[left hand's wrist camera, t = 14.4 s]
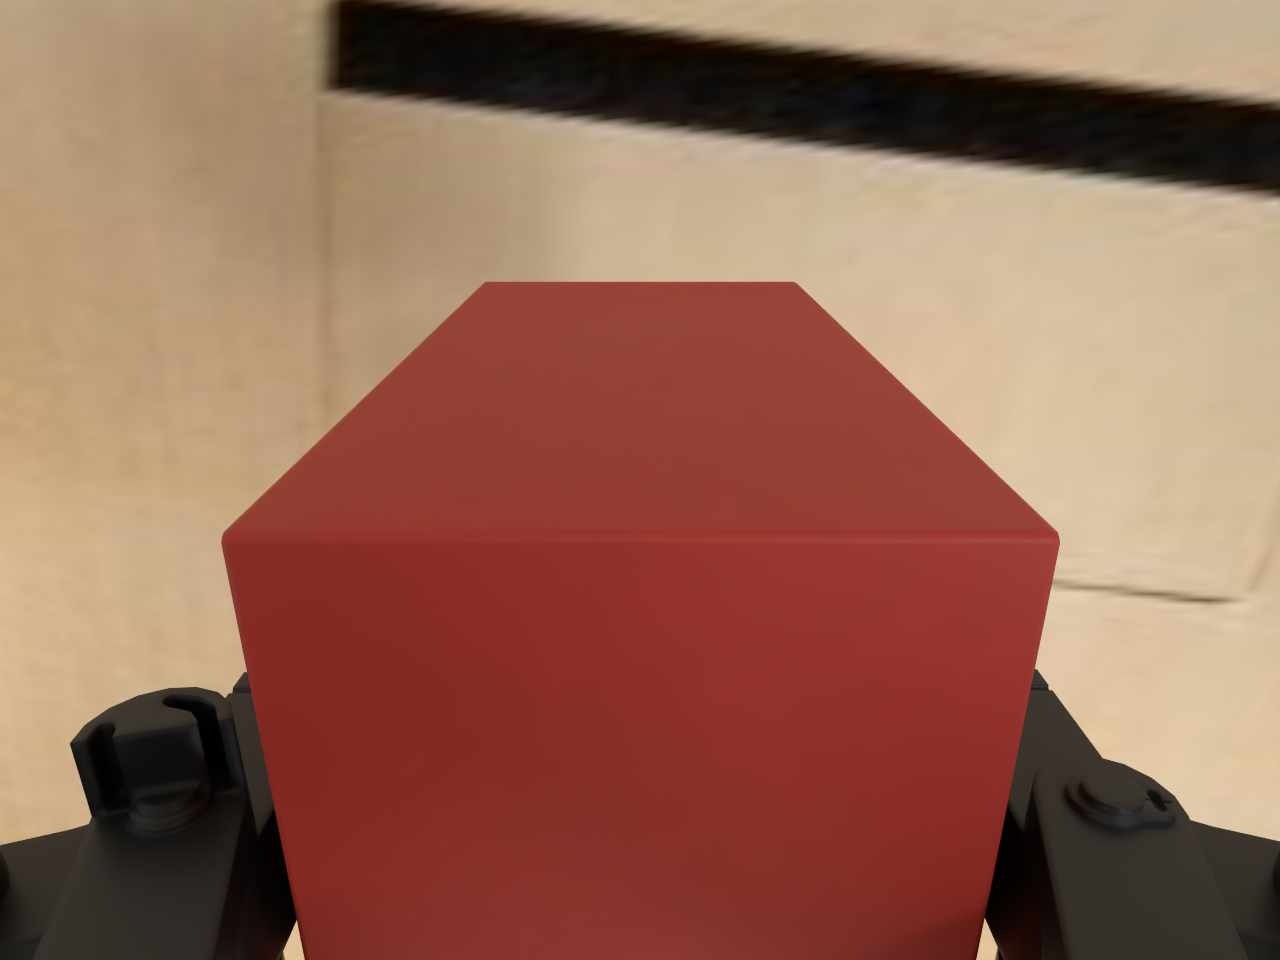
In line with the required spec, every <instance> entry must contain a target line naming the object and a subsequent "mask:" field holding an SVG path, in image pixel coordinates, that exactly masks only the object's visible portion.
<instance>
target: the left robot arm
mask: <svg viewBox="0 0 1280 960" xmlns="http://www.w3.org/2000/svg"><path fill="white" fill-rule="evenodd" d="M70 746H71V749H72V752H73V756H74V759H75V762H76V766H77V769H78V772H79V776H80V779H81V782H82V785H83V789H84V792H85V795H86V799H87V802H88V805H89V809H90V812H91V815H92V818H91V820H90V823H89V824H88V825H85V826H81V827H78V828H74V829H71V830H67V831H62V832H58V833H53V834H49V835H44V836H40V837H35V838H31V839H26V840H22V841H17V842H13V843H8V844H4V845H0V960H285V958H284V953H283V950H284V948H285V946H286V943H287V941H288V939H289V936H290V934H291V932H292V930H293V927H294V925H295V923H296V920H297V918H296V913H295V908H294V903H293V898H292V893H291V888H290V883H289V878H288V873H287V868H286V863H285V858H284V853H283V848H282V843H281V838H280V833H279V828H278V823H277V818H276V813H275V808H274V803H273V798H272V793H271V788H270V783H269V778H268V773H267V768H266V763H265V758H264V753H263V748H262V743H261V738H260V733H259V728H258V723H257V718H256V713H255V708H254V703H253V698H252V693H251V688H250V683H249V678H248V673H247V672H244V674H243V675H242V676H241V678H240V679H239V680H238V682H237V683H236V684H235V686H234V687H233V693H229V694H228V695H227V697H226V698H224V697H223V696H222V695H221V694H219V693H218V692H216V691H211V690H207V689H202V688H198V687H186V688H168V689H164V690H159V691H155V692H151V693H147V694H143V695H139V696H136V697H134V698H132V699H129V700H127V701H125V702H122V703H120V704H118V705H115V706H113V707H111V708H109V709H107V710H106V711H104V712H103V713H102V714H100V715H99V716H97V717H96V718H94V719H93V720H91V721H90V722H88V723H87V724H86V725H84V727H83V728H82V729H81V730H80V732H79V733H78V734H77V735H76V737H75V738H74V739H73V740H72V741H71V743H70ZM985 919H986V921H987V924H988V926H989V928H990V931H991V933H992V935H993V937H994V940H995V942H996V944H997V946H998V948H997V953H996V958H995V960H1280V841H1275V840H1271V839H1266V838H1262V837H1257V836H1253V835H1248V834H1244V833H1239V832H1235V831H1230V830H1226V829H1221V828H1217V827H1212V826H1209V825H1205V824H1202V823H1198V822H1195V821H1191V820H1190V819H1189V816H1188V815H1187V813H1186V812H1185V810H1184V809H1183V808H1182V806H1181V805H1180V803H1179V802H1178V800H1177V799H1176V798H1175V796H1174V795H1173V794H1171V793H1170V792H1169V791H1168V790H1166V789H1165V788H1164V787H1162V786H1161V785H1160V784H1159V783H1157V782H1156V781H1155V780H1154V779H1152V778H1151V777H1149V776H1147V775H1145V774H1143V773H1141V772H1139V771H1137V770H1135V769H1132V768H1130V767H1128V766H1126V765H1124V764H1121V763H1117V762H1114V761H1110V760H1106V759H1103V758H1102V757H1101V755H1100V754H1099V753H1098V751H1097V750H1096V749H1095V747H1094V746H1093V745H1092V743H1091V742H1090V741H1089V739H1088V738H1087V737H1086V735H1085V734H1084V733H1083V731H1082V730H1081V728H1080V727H1079V726H1078V724H1077V723H1076V722H1075V720H1074V719H1073V718H1072V716H1071V715H1070V714H1069V712H1068V711H1067V710H1066V708H1065V707H1064V705H1063V704H1062V703H1061V701H1060V700H1059V699H1058V697H1057V696H1056V695H1055V693H1054V692H1053V691H1052V690H1049V689H1048V684H1047V683H1046V681H1045V680H1044V678H1043V677H1042V676H1041V674H1040V673H1039V672H1038V670H1037V669H1034V674H1033V679H1032V684H1031V689H1030V694H1029V699H1028V704H1027V709H1026V714H1025V719H1024V724H1023V729H1022V734H1021V739H1020V744H1019V749H1018V754H1017V759H1016V764H1015V769H1014V774H1013V779H1012V784H1011V789H1010V794H1009V799H1008V804H1007V809H1006V814H1005V819H1004V824H1003V829H1002V834H1001V839H1000V844H999V849H998V853H997V858H996V863H995V868H994V873H993V878H992V883H991V888H990V893H989V898H988V903H987V908H986V913H985Z"/></svg>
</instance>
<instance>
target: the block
mask: <svg viewBox="0 0 1280 960" xmlns="http://www.w3.org/2000/svg"><path fill="white" fill-rule="evenodd" d="M1059 545H1060V540H1059V535H1058V532H1057V531H1056V530H1055V529H1054V528H1053V527H1051V526H1050V525H1049V524H1048V523H1047V522H1046V521H1045V520H1044V519H1043V518H1042V517H1041V516H1040V515H1039V514H1038V513H1037V512H1036V511H1035V510H1034V509H1033V508H1032V507H1031V506H1029V505H1028V504H1027V503H1026V502H1025V501H1024V500H1023V499H1022V498H1021V497H1020V496H1019V495H1018V494H1017V493H1016V492H1015V491H1014V490H1013V489H1012V488H1011V487H1010V486H1009V485H1007V484H1006V483H1005V482H1004V481H1003V480H1002V479H1001V478H1000V477H999V476H998V475H997V474H996V473H995V472H994V471H993V470H992V469H991V468H990V467H989V466H988V465H986V464H985V463H984V462H983V461H982V460H981V459H980V458H979V457H978V456H977V455H976V454H975V453H974V452H973V451H972V450H971V449H970V448H969V447H968V446H967V445H966V444H964V443H963V442H962V441H961V440H960V439H959V438H958V437H957V436H956V435H955V434H954V433H953V432H952V431H951V430H950V429H949V428H948V427H947V426H946V425H945V424H944V423H942V422H941V421H940V420H939V419H938V418H937V417H936V416H935V415H934V414H933V413H932V412H931V411H930V410H929V409H928V408H927V407H926V406H925V405H924V404H923V403H922V402H920V401H919V400H918V399H917V398H916V397H915V396H914V395H913V394H912V393H911V392H910V391H909V390H908V389H907V388H906V387H905V386H904V385H903V384H902V383H901V382H899V381H898V380H897V379H896V378H895V377H894V376H893V375H892V374H891V373H890V372H889V371H888V370H887V369H886V368H885V367H884V366H883V365H882V364H881V363H880V362H879V361H877V360H876V359H875V358H874V357H873V356H872V355H871V354H870V353H869V352H868V351H867V350H866V349H865V348H864V347H863V346H862V345H861V344H860V343H859V342H858V341H857V340H855V339H854V338H853V337H852V336H851V335H850V334H849V333H848V332H847V331H846V330H845V329H844V328H843V327H842V326H841V325H840V324H839V323H838V322H837V321H836V320H834V319H833V318H832V317H831V316H830V315H829V314H828V313H827V312H826V311H825V310H824V309H823V308H822V307H821V306H820V305H819V304H818V303H817V302H816V301H815V300H814V299H812V298H811V297H810V296H809V295H808V294H807V293H806V292H805V291H804V290H803V289H802V288H801V287H800V286H799V285H798V284H797V283H795V282H486V283H484V284H483V285H482V286H481V287H480V288H479V289H478V290H476V291H475V292H474V293H473V294H472V295H471V296H470V297H469V298H468V299H467V300H466V301H465V302H464V303H463V304H462V305H461V306H460V307H459V308H458V309H457V310H456V311H455V312H453V313H452V314H451V315H450V316H449V317H448V318H447V319H446V320H445V321H444V322H443V323H442V324H441V325H440V326H439V327H438V328H437V329H436V330H435V331H434V332H433V333H432V334H430V335H429V336H428V337H427V338H426V339H425V340H424V341H423V342H422V343H421V344H420V345H419V346H418V347H417V348H416V349H415V350H414V351H413V352H412V353H411V354H410V355H409V356H407V357H406V358H405V359H404V360H403V361H402V362H401V363H400V364H399V365H398V366H397V367H396V368H395V369H394V370H393V371H392V372H391V373H390V374H389V375H388V376H387V377H386V378H384V379H383V380H382V381H381V382H380V383H379V384H378V385H377V386H376V387H375V388H374V389H373V390H372V391H371V392H370V393H369V394H368V395H367V396H366V397H365V398H364V399H363V400H361V401H360V402H359V403H358V404H357V405H356V406H355V407H354V408H353V409H352V410H351V411H350V412H349V413H348V414H347V415H346V416H345V417H344V418H343V419H342V420H341V421H340V422H338V423H337V424H336V425H335V426H334V427H333V428H332V429H331V430H330V431H329V432H328V433H327V434H326V435H325V436H324V437H323V438H322V439H321V440H320V441H319V442H318V443H317V444H315V445H314V446H313V447H312V448H311V449H310V450H309V451H308V452H307V453H306V454H305V455H304V456H303V457H302V458H301V459H300V460H299V461H298V462H297V463H296V464H295V465H294V466H292V467H291V468H290V469H289V470H288V471H287V472H286V473H285V474H284V475H283V476H282V477H281V478H280V479H279V480H278V481H277V482H276V483H275V484H274V485H273V486H272V487H271V488H269V489H268V490H267V491H266V492H265V493H264V494H263V495H262V496H261V497H260V498H259V499H258V500H257V501H256V502H255V503H254V504H253V505H252V506H251V507H250V508H249V509H248V510H246V511H245V512H244V513H243V514H242V515H241V516H240V517H239V518H238V519H237V520H236V521H235V522H234V523H233V524H232V525H231V526H230V527H229V528H228V529H227V530H226V531H225V532H224V533H223V536H222V548H223V553H224V558H225V563H226V568H227V573H228V578H229V583H230V588H231V593H232V598H233V603H234V608H235V613H236V618H237V623H238V628H239V633H240V638H241V643H242V648H243V653H244V658H245V663H246V668H247V673H248V678H249V683H250V688H251V693H252V698H253V703H254V708H255V713H256V718H257V723H258V728H259V733H260V738H261V743H262V748H263V753H264V758H265V763H266V768H267V773H268V778H269V783H270V788H271V793H272V798H273V803H274V808H275V813H276V818H277V823H278V828H279V833H280V838H281V843H282V848H283V853H284V858H285V863H286V868H287V873H288V878H289V883H290V888H291V893H292V898H293V903H294V908H295V913H296V918H297V923H298V928H299V933H300V938H301V943H302V948H303V953H304V958H305V960H976V958H977V953H978V948H979V943H980V938H981V933H982V928H983V923H984V918H985V913H986V908H987V903H988V898H989V893H990V888H991V883H992V878H993V873H994V868H995V863H996V858H997V853H998V849H999V844H1000V839H1001V834H1002V829H1003V824H1004V819H1005V814H1006V809H1007V804H1008V799H1009V794H1010V789H1011V784H1012V779H1013V774H1014V769H1015V764H1016V759H1017V754H1018V749H1019V744H1020V739H1021V734H1022V729H1023V724H1024V719H1025V714H1026V709H1027V704H1028V699H1029V694H1030V689H1031V684H1032V679H1033V674H1034V669H1035V664H1036V659H1037V654H1038V649H1039V644H1040V639H1041V634H1042V630H1043V625H1044V620H1045V615H1046V610H1047V605H1048V600H1049V595H1050V590H1051V585H1052V580H1053V575H1054V570H1055V565H1056V560H1057V555H1058V550H1059Z"/></svg>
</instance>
